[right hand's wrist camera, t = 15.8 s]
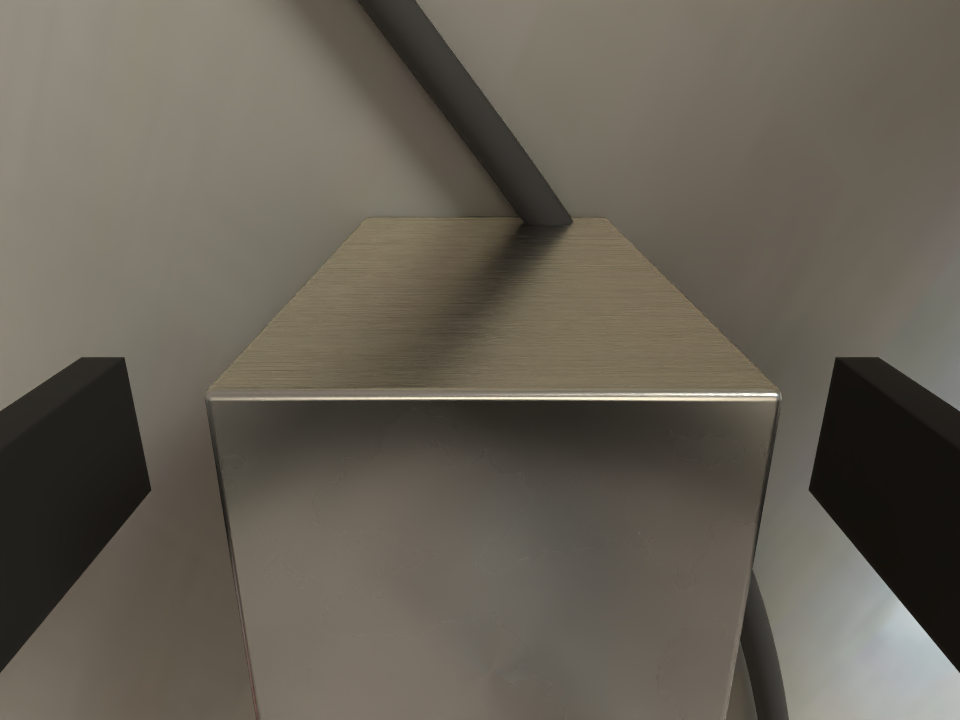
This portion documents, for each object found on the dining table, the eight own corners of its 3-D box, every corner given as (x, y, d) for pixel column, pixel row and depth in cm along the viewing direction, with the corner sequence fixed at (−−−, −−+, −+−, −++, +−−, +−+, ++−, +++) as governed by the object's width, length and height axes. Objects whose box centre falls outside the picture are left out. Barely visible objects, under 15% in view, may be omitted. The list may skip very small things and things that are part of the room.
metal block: (381, 476, 17) (277, 871, 8) (364, 216, 15) (199, 391, 6) (589, 476, 17) (702, 872, 8) (607, 216, 15) (787, 392, 6)
